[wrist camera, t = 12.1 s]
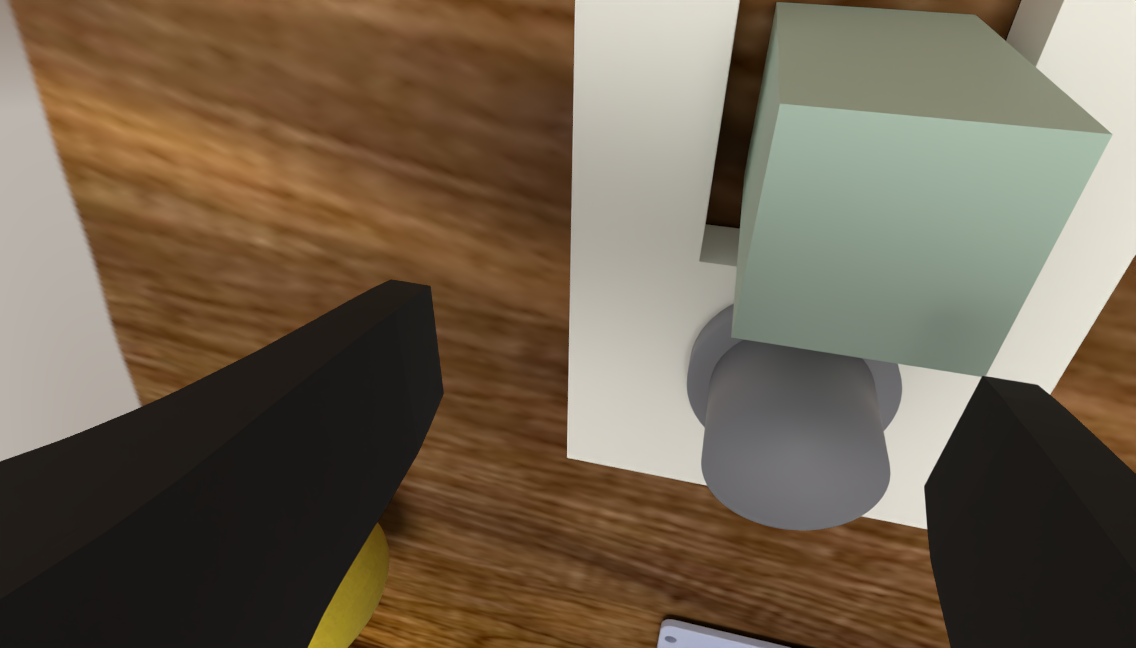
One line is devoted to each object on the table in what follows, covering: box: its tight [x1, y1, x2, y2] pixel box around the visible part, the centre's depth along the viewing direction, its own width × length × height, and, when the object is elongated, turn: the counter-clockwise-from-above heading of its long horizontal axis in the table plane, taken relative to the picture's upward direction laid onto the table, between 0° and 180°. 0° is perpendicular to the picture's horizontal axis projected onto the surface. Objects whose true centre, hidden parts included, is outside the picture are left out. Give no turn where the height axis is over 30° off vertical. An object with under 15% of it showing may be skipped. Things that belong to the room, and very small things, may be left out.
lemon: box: [308, 522, 389, 648], centre depth 27 cm, size 6×6×8 cm
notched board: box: [567, 0, 1136, 530], centre depth 15 cm, size 15×12×6 cm
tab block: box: [731, 2, 1113, 377], centre depth 12 cm, size 4×4×7 cm
